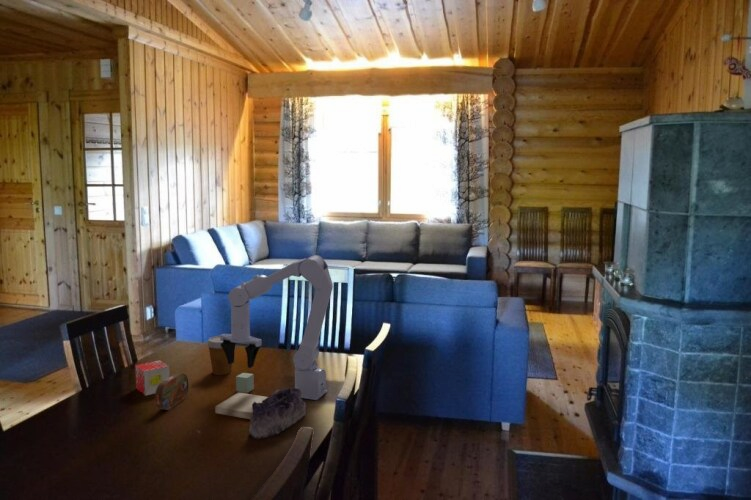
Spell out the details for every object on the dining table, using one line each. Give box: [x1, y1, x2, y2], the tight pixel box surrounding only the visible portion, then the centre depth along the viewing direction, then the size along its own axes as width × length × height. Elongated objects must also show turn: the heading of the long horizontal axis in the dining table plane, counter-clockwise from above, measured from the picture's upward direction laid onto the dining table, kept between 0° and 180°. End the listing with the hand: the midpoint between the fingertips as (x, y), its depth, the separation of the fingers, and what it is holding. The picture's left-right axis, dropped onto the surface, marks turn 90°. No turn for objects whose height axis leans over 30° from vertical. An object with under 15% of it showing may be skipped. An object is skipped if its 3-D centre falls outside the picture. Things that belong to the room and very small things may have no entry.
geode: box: [248, 387, 307, 440], centre depth 164 cm, size 20×12×10 cm, turn 158°
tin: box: [154, 373, 189, 411], centre depth 178 cm, size 15×3×8 cm, turn 168°
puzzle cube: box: [135, 360, 171, 396], centre depth 190 cm, size 8×8×8 cm
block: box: [235, 372, 255, 394], centre depth 190 cm, size 4×4×5 cm
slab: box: [214, 392, 269, 420], centre depth 175 cm, size 12×12×2 cm
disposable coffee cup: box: [206, 335, 233, 376], centre depth 207 cm, size 10×10×12 cm
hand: (240, 365), depth 189 cm, fingers open, 7 cm apart
